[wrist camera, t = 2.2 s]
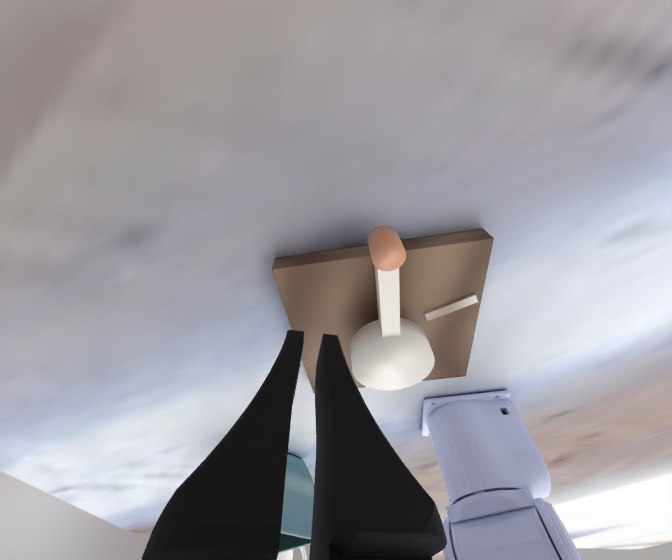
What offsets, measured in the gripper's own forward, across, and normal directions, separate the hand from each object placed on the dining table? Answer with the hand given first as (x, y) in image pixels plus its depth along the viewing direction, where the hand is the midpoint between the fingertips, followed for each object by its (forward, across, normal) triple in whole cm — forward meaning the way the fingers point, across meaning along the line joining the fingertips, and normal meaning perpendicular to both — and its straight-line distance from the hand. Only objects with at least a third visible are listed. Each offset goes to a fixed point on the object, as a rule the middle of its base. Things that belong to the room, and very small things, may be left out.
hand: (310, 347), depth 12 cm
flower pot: (+10, 0, +35) cm, 36 cm away
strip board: (+9, -7, +6) cm, 13 cm away
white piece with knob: (+6, -5, +3) cm, 9 cm away
